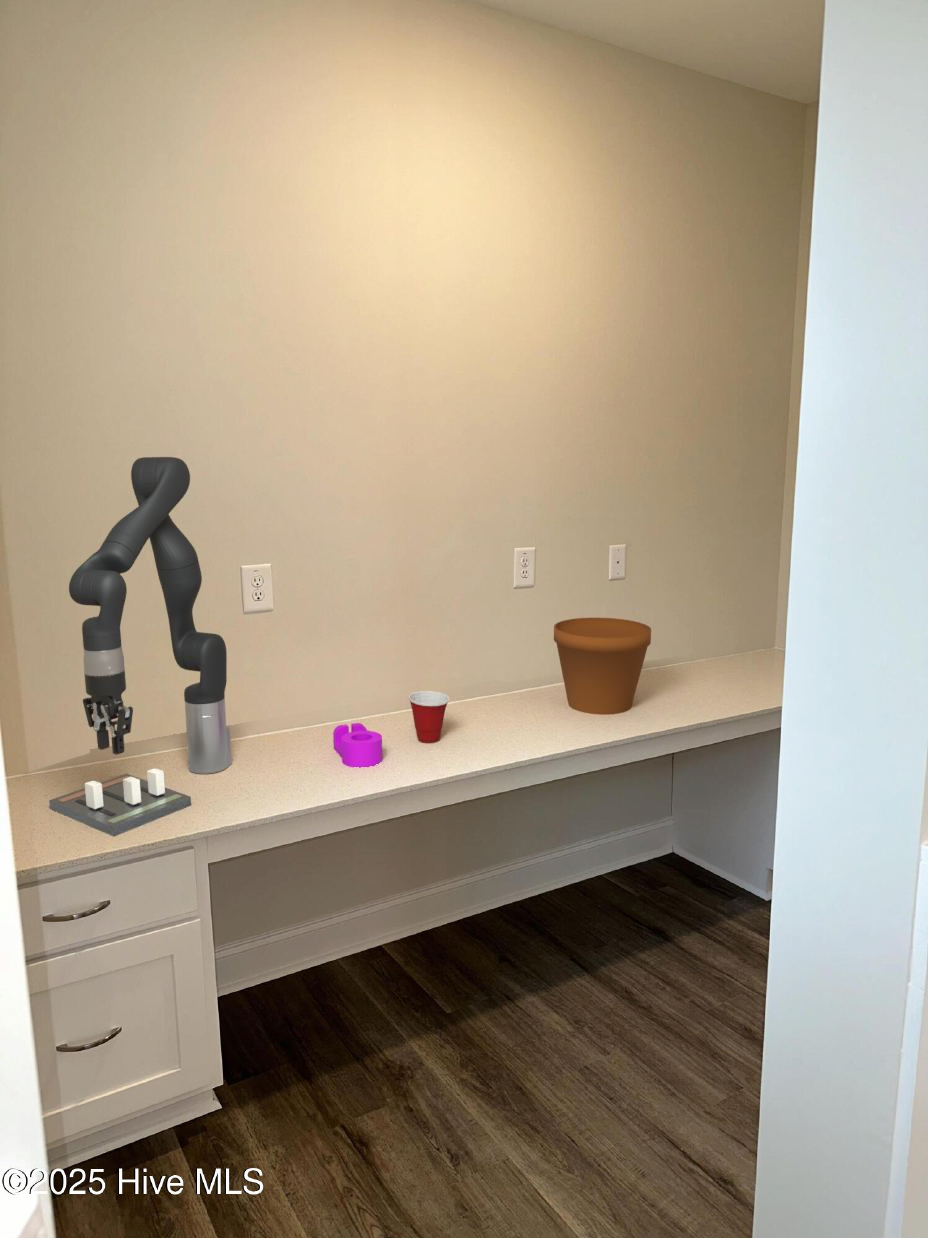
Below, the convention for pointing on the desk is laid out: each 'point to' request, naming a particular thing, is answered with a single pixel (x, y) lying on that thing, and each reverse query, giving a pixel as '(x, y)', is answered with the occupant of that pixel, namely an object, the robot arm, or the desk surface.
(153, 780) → the switch
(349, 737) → the tape dispenser
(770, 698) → the desk surface
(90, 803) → the switch
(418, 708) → the plastic cup
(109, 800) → the switch panel
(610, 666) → the flowerpot
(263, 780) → the desk surface
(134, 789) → the switch middle
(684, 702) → the desk surface
